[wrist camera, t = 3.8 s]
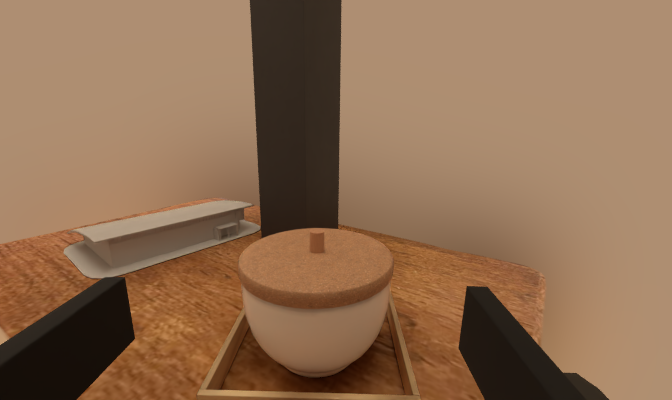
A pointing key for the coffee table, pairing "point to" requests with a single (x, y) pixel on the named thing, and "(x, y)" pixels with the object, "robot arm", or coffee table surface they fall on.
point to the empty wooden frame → (212, 396)
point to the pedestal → (297, 111)
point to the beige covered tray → (157, 237)
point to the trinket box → (315, 296)
